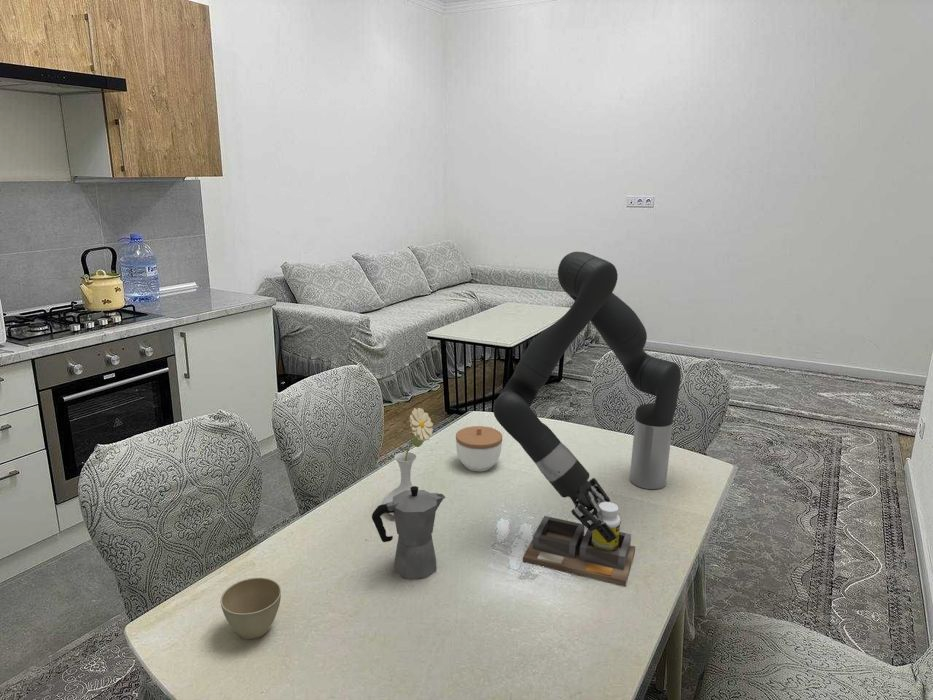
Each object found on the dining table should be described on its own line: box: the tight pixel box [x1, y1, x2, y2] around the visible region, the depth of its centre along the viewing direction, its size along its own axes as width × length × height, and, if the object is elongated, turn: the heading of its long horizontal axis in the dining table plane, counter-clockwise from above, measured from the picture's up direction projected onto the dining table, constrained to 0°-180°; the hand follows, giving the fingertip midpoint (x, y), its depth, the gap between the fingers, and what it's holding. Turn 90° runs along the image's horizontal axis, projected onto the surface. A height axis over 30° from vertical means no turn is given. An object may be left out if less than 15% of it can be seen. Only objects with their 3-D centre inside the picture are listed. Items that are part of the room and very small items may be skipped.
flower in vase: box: [381, 407, 434, 517], centre depth 151 cm, size 13×11×25 cm
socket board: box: [522, 515, 636, 587], centre depth 136 cm, size 13×21×4 cm, turn 68°
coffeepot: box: [371, 485, 446, 580], centre depth 130 cm, size 15×9×18 cm, turn 116°
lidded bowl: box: [455, 425, 503, 472], centre depth 176 cm, size 13×13×11 cm
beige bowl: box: [220, 577, 282, 640], centre depth 113 cm, size 10×10×7 cm
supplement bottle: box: [592, 501, 621, 552], centre depth 134 cm, size 5×5×10 cm
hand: (615, 532), depth 134 cm, fingers closed on supplement bottle, 5 cm apart
